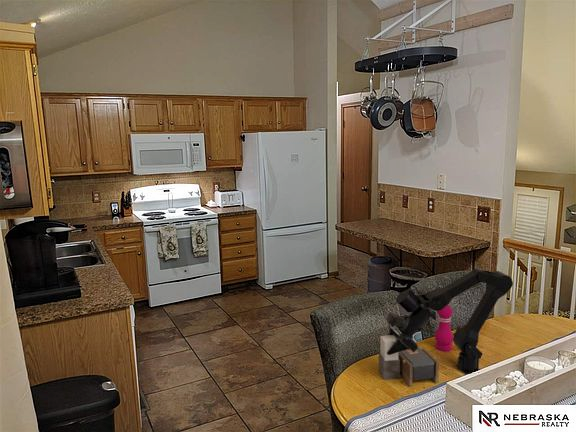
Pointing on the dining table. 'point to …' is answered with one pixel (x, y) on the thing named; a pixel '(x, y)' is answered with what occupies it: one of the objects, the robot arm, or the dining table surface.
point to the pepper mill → (444, 330)
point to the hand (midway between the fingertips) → (385, 350)
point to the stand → (389, 368)
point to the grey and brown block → (420, 364)
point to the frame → (407, 368)
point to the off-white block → (387, 347)
